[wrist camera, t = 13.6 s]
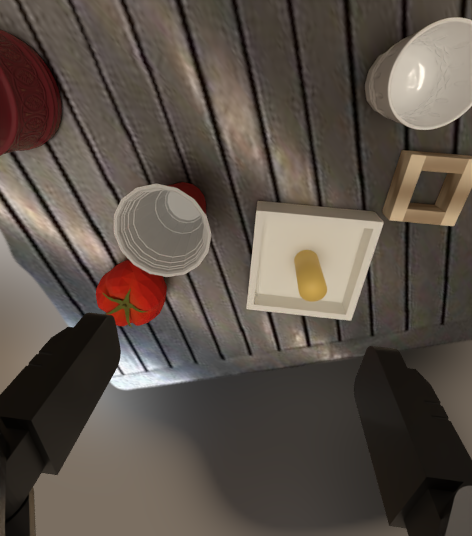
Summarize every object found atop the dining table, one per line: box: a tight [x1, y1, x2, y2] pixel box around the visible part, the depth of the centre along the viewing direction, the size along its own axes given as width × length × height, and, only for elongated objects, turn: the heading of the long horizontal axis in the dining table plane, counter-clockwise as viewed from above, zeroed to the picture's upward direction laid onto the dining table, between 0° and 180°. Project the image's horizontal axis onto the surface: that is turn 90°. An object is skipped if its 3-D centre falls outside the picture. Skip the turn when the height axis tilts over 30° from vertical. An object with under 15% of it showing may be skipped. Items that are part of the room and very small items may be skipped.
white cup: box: [365, 17, 472, 130], centre depth 29 cm, size 8×8×10 cm
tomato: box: [96, 260, 167, 327], centre depth 47 cm, size 11×11×9 cm
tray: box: [247, 201, 384, 321], centre depth 44 cm, size 16×16×4 cm
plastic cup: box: [114, 182, 211, 277], centre depth 38 cm, size 11×11×12 cm
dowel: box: [294, 250, 327, 302], centre depth 41 cm, size 4×4×8 cm
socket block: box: [382, 150, 472, 226], centre depth 38 cm, size 8×8×3 cm
